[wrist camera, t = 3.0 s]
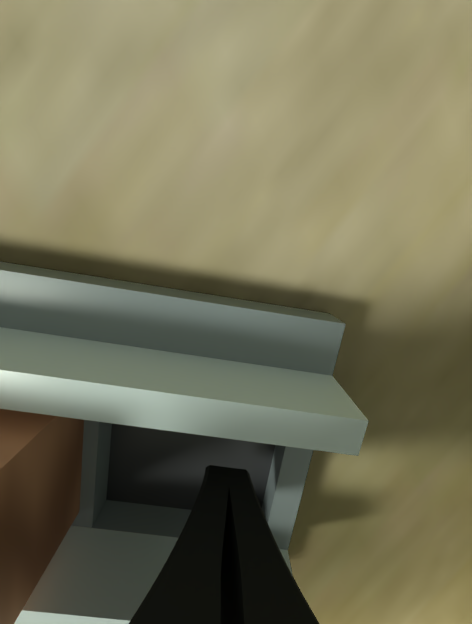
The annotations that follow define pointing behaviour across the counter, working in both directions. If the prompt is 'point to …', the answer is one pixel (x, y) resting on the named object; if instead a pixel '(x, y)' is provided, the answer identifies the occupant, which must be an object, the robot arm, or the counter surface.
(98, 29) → the counter surface
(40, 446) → the cube
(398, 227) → the counter surface
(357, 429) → the channel
